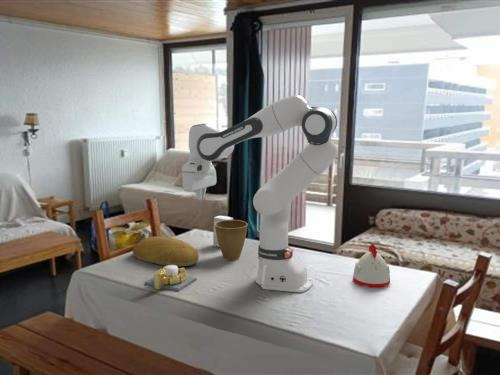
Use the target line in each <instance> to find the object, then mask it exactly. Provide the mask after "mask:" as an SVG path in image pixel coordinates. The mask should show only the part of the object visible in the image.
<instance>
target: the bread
mask: <svg viewBox="0 0 500 375" xmlns="http://www.w3.org/2000/svg"><path fill="white" fill-rule="evenodd" d="M132 254H133V256H134V257H135V258H136V259H138V260H140V261H142V262H143V261H144V262H147V263H151V264H156V265H160V266H168V265H176V266H178V268H181V267H188V266H192V265H194V264H196V263H197V261H198V260H199V253H198V251H197V249H195V247H193V246H192V245H191V244H190V243H187V242H186V241H184V240H181V239H178V238H175V237H171V236H164V235H163V236H161V235H157V236H156V235H155V236H150V237H145V238H143V239H142V240H140V241H139V242H138V243H136V244H135V245H134V247H133V248H132Z"/></svg>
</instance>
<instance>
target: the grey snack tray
mask: <svg viewBox="0 0 500 375" xmlns="http://www.w3.org/2000/svg"><path fill="white" fill-rule="evenodd" d="M178 268H179V267H178V266H176V265H164V266H163V267H162V269H165V273H166V276H169V277H170V276H171V274H173V273H176V275H178ZM197 280H198V278H197V277H196V276H195V277H193V276H190V275H186V279H185V280H184V281H182V282H180V283H176V284H171V285H170V284H168V285H167V284H165V285H164V286H163V287H161V288H160V289H167V290H171V291H176V292H181V291H182V290H183V289H185V288H187V287H188V286H190V285H191V284H193V283H195V282H196V281H197ZM144 285H147V286H152V287H155V283H154V276H153V277H151V278H149V279H147V280H145V281H144Z"/></svg>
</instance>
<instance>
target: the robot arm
mask: <svg viewBox="0 0 500 375" xmlns="http://www.w3.org/2000/svg"><path fill="white" fill-rule="evenodd" d="M337 125H338V119H337V116H336V113H334V111H333V110H331V109H329V108H327V107H321V106H320V107H317V106H311V107H310V106H309V104H308V102H307V100H306V99H305V98H304V97H303V96H301V95H298V94H294V95H290V96H287V97H284V98H281V99H279V100H277V101H274V102H272V103H270V104H269V105H267V106H265V107H263V108H261V109H260V110H258V111H257V112H256V113H255V114H253V115H251V116H250V117H248V118H247V119H245V120H243V121H241V122H239V123H237V124H236V125H233V126H231V127H229V128H226V129H224V130H221V131H219V130H218V129H216V128H214V127H212V126H211V125H210V124H209V123H201V124H200V123H199V124H195V125H192V126H191V127H190V129H189V131H188V149H189V155H188V161H186V163H185V164H183V165H182V166H181V171H182V172H183V173H182V189H183V190H184V192H191V193H192V192H195V194H196V198H197V200H198V201H201V200H203V199H205V198H206V191H207V188H209V187H213V186H215V185H216V184H217V171H216V170H217V169H216V168H215V165H214V164H213V163H212V161H215V160H217V159H221V158H225V157H228V156H229V155H231V154H232V153H233V152H234V150H235V145H237V144H239V143H242V142H244V141H247V140H251V139H256V138H265V137H271V136H275V135H278V134H281V133H283V132H285V131H289V130H290V129H293V128H295V127H299V126H300V127H301V130H302V132H303V134H304V136H305V138H306V140H307V142H308V144H307V145H306V147H304V148H303V149H302V150H301V151H300V152H299V153H298V154H296V156H295V157H293V159H291V161H290V162H288V164H287V165H285V166H284V167H283V168H282V169H280V171H278V172H277V173H276V174H275V175H274V176H272V177H271V178H270V179H269V180H268V181H267V182H266V183H264V184H263V185H262V186H261V187H260V188H258V190H257V191H256V193H255V194H254V196H253V198H252V204H253V207H254V210H255V211H256V212H258V214H260V215H262V216H261V221H260V223H259V244H258V248H257V250H258V251H257V255H258V265H257V266H258V267H257V273H256V277H255V280H254V281H255V283H256V284H257V285H259V286H260V287H261V289H263V290H270V291H279V292H282V291H283V292H292V293H305V292H306V291H308V290H309V289H310V288H312V286H313V285H314V279H313V278H312V277H309V276H308V273H307V272H308V271H307V268H306V266H305V265H304V263H301V262H300V261H299V260H298V259H297V258H296V257H294V256H293V254H294V253H293V252H294V249H295V248H294V247H292V248H291V247H290V246H289V224H290V218H291V217H290V216H291V210H292V204H293V203H292V201H293V200H294V199H295V198H296V197H298V196H299V194H301V193H302V192H304V190H305V189H307V188H308V187H309V186H310V185H311V184H312V183H313V182H314V181H315V180H317V178H319V177H320V176H322V174H323V173H324V172H325V171H326V170H327V169H328V168H329V167H330V166H331V165H332V164H333V162H334V161H335V160H336V158H337V157H338V153H339V150H338V147H337V145H336V143H335V142H334V141H333V140H332V134H333V133H334V132H335V130H336V128H337Z"/></svg>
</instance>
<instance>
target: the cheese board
mask: <svg viewBox="0 0 500 375" xmlns="http://www.w3.org/2000/svg"><path fill="white" fill-rule="evenodd" d="M186 276H187V271H186V268H185V267H178V275H176V273H173V274H171V276H170V277H169V276H166V273H165V269H163V268H160V269H158V270H156V271H155V272H154V273H153V277H154V283H155V286H154V289H155V290H160V289H162V288H161V287H163V286H164V285H165V284H167V285H168V284H170V285H171V284H176V283H180V282H182V281H184V280H185V279H186Z"/></svg>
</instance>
